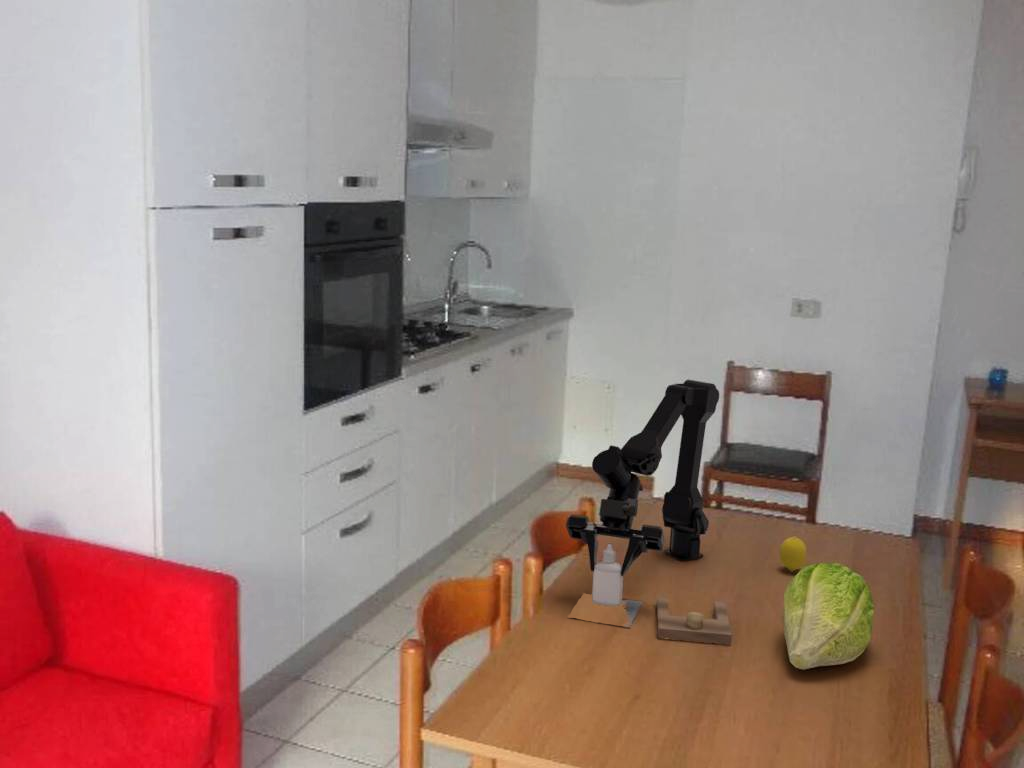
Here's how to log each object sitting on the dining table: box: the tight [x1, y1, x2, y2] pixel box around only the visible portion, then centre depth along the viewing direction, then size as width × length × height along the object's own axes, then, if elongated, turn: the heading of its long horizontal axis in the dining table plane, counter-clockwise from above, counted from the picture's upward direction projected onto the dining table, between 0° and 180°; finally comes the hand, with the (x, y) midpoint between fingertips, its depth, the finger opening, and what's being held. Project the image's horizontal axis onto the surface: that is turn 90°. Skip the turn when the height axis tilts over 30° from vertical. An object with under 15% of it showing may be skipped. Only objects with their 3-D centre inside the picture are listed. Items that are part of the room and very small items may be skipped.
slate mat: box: [623, 599, 643, 627], centre depth 191 cm, size 12×12×1 cm
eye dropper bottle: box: [591, 543, 624, 606], centre depth 190 cm, size 4×6×12 cm
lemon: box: [779, 535, 807, 572], centre depth 214 cm, size 6×6×8 cm
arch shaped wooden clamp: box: [656, 595, 733, 646], centre depth 186 cm, size 15×13×4 cm
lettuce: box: [782, 562, 875, 670], centre depth 176 cm, size 15×25×16 cm
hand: (606, 572), depth 188 cm, fingers closed on eye dropper bottle, 5 cm apart
